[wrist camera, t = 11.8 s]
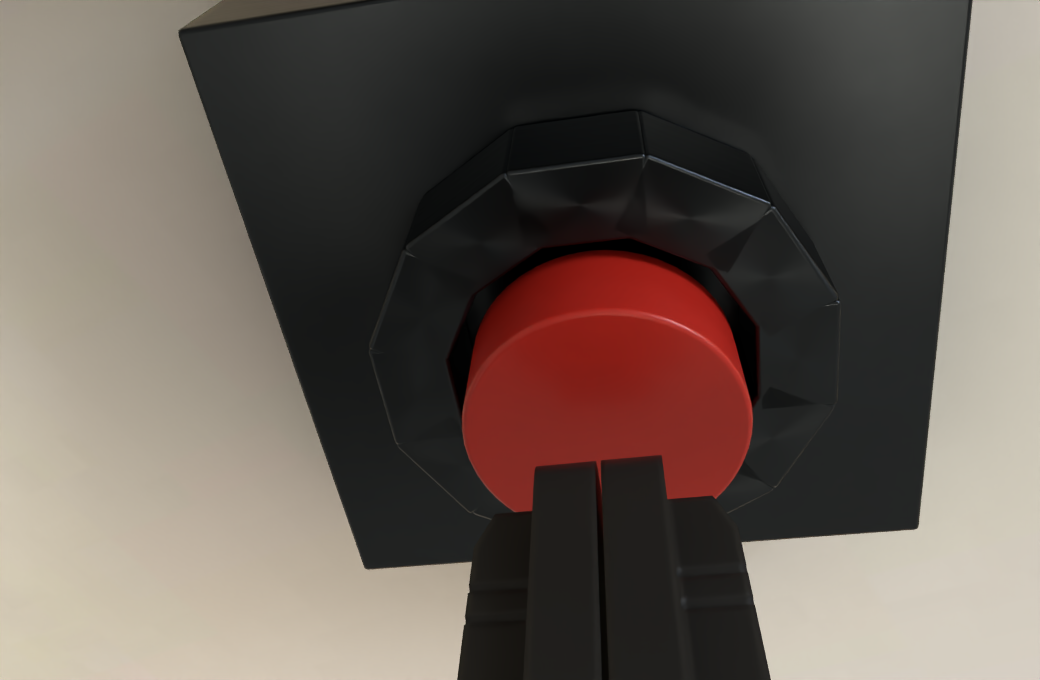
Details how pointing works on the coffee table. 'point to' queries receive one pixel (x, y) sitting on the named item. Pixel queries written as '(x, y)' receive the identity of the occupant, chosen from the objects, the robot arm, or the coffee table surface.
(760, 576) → the coffee table surface
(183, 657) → the coffee table surface
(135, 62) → the coffee table surface
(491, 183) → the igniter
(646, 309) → the button
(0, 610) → the coffee table surface
